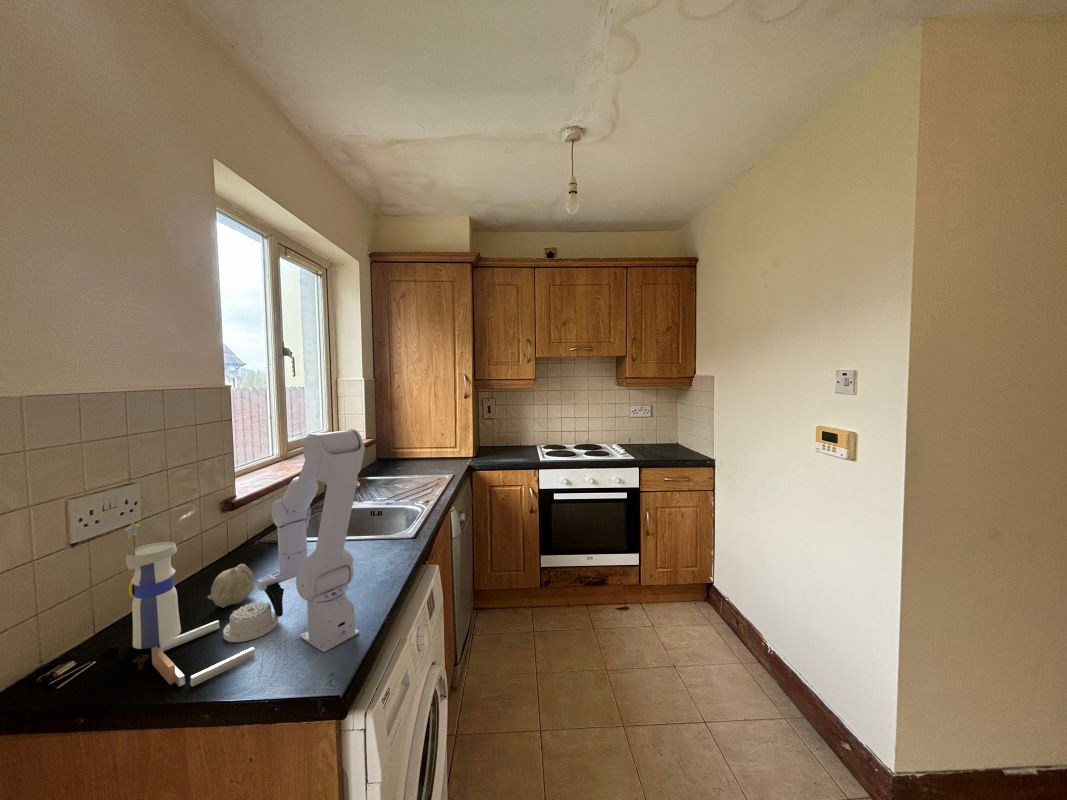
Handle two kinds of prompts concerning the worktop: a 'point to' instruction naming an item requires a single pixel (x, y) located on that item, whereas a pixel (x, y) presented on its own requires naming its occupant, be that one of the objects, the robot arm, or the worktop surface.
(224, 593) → the garlic bulb
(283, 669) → the worktop surface
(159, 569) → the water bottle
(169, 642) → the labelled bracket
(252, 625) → the mechanical component
